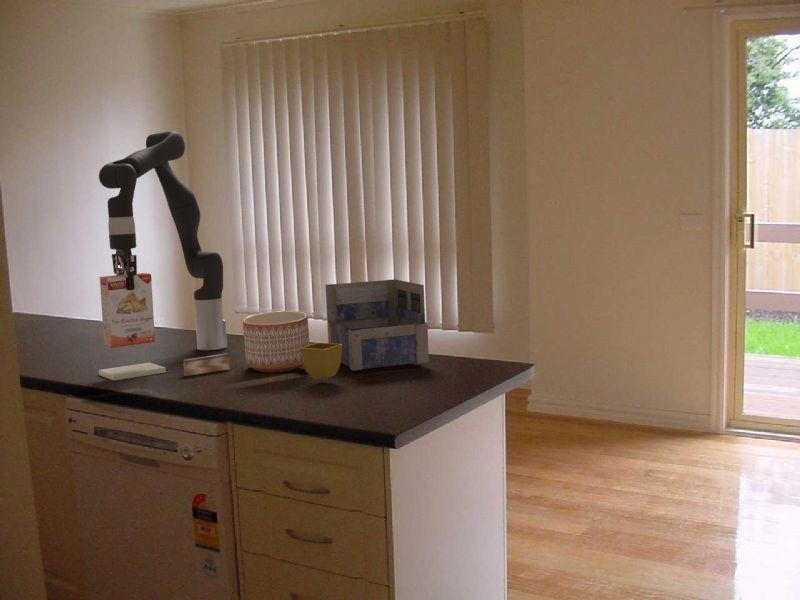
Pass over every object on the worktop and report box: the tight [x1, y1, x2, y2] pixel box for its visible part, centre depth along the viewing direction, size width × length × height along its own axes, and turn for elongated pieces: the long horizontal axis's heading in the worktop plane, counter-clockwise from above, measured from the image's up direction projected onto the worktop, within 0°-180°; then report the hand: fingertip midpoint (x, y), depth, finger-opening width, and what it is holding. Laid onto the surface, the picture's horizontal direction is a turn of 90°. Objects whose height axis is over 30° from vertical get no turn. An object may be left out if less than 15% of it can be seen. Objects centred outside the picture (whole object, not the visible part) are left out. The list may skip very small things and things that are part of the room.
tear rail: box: [182, 353, 231, 377], centre depth 280 cm, size 14×2×5 cm, turn 127°
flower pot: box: [300, 342, 342, 380], centre depth 265 cm, size 9×9×9 cm
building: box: [325, 278, 430, 371], centre depth 288 cm, size 23×24×23 cm
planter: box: [242, 310, 311, 373], centre depth 282 cm, size 19×19×15 cm
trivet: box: [98, 362, 167, 381], centre depth 282 cm, size 16×12×2 cm
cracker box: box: [99, 272, 156, 349], centre depth 280 cm, size 14×6×21 cm, turn 132°
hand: (126, 289), depth 280 cm, fingers closed on cracker box, 6 cm apart
